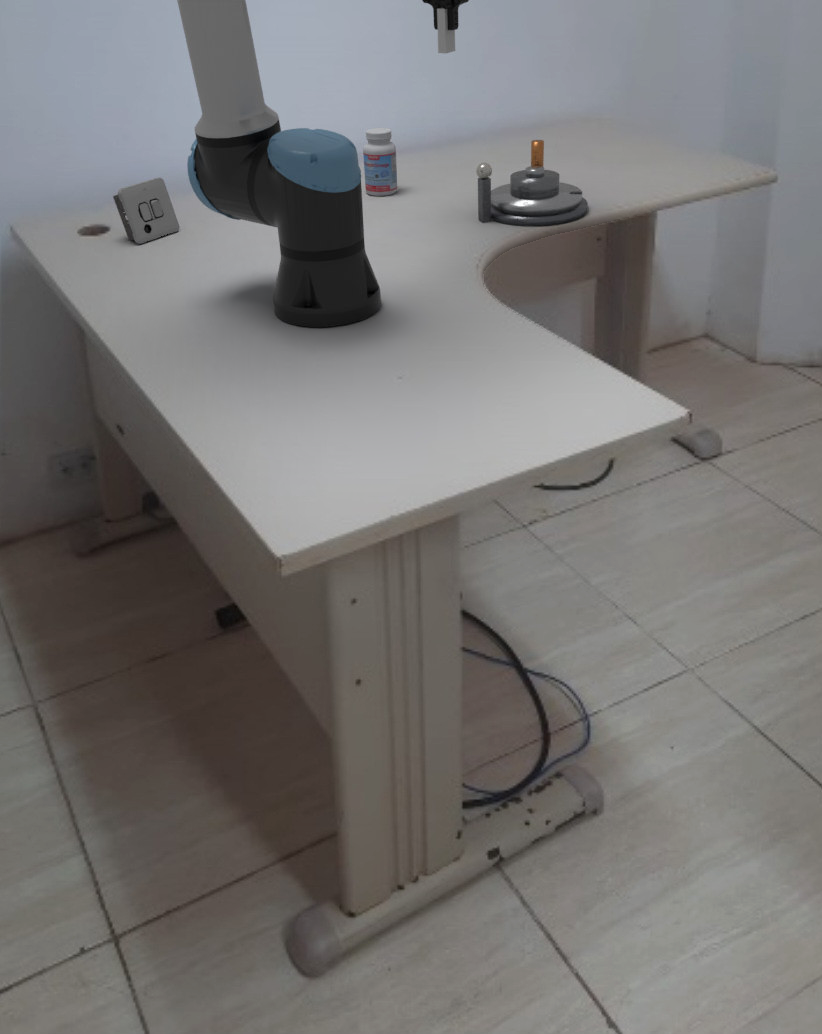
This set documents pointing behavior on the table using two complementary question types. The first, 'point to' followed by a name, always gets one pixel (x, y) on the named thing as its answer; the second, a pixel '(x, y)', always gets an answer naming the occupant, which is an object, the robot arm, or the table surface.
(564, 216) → the turntable base
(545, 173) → the cover
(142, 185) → the electrical switch
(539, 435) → the table surface
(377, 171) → the pill bottle
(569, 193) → the platter
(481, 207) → the post
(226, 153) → the robot arm
